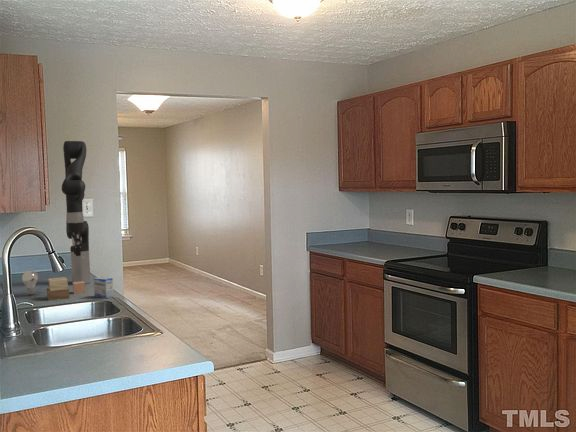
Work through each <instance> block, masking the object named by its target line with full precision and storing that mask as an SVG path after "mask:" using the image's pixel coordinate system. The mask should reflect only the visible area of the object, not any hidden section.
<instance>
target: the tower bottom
mask: <svg viewBox="0 0 576 432" xmlns="http://www.w3.org/2000/svg"><path fill="white" fill-rule="evenodd" d="M46 299H47V301H58V299H59V300H65V299H70V288H68V289H64V290H54V291H50V290H49V287H47V288H46Z"/></svg>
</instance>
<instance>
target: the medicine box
mask: <svg viewBox="0 0 576 432" xmlns="http://www.w3.org/2000/svg"><path fill="white" fill-rule="evenodd" d="M93 293H94V294H93V295H94V298H101V299H102V298H103V299H107V298H112V297H114V279H113V278H111V277H95V278H93Z"/></svg>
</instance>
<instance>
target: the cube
mask: <svg viewBox="0 0 576 432" xmlns="http://www.w3.org/2000/svg"><path fill="white" fill-rule="evenodd" d="M72 292H73V294H74V295H77V294H78V295H79V294H86V284H85V283H84V281H81V282H73V284H72Z"/></svg>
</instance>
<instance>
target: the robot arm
mask: <svg viewBox="0 0 576 432" xmlns="http://www.w3.org/2000/svg"><path fill="white" fill-rule="evenodd" d="M62 146H63V147H62V148H63V149H62V150H63V151H62V152H63V159H64V170H65V172H64V173H65V178H64V179H63V182H62V183H61V191H62V193H63V194H64V195H65V203H66V221H65V222H66V223H65V224H66V225H65V226H66V227H65V231H66V237H67V239H69V240H70V239H71V243H72V245H71V246H70V247H69V248H70V262H71V263H70V264H71V265H70V266H71V284H72V285H73V282H81V281H84V283H85V285H87V284H90V283H91V281H92V280H91V264H90V263H91V262H90V261H91V260H90V246H89V245H90V239H89V237H90V236H89V235H90V230H89V223H88V221H86V220H84V217H85V216H84V213H83V212H84V209H83V201H84V198H85V192H86V183H85V181H83V169H84V164H85V161H86V157H87V145H86V142H84V141H82V140H65V141H64V143H63V145H62ZM72 160H73V161H72Z"/></svg>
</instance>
